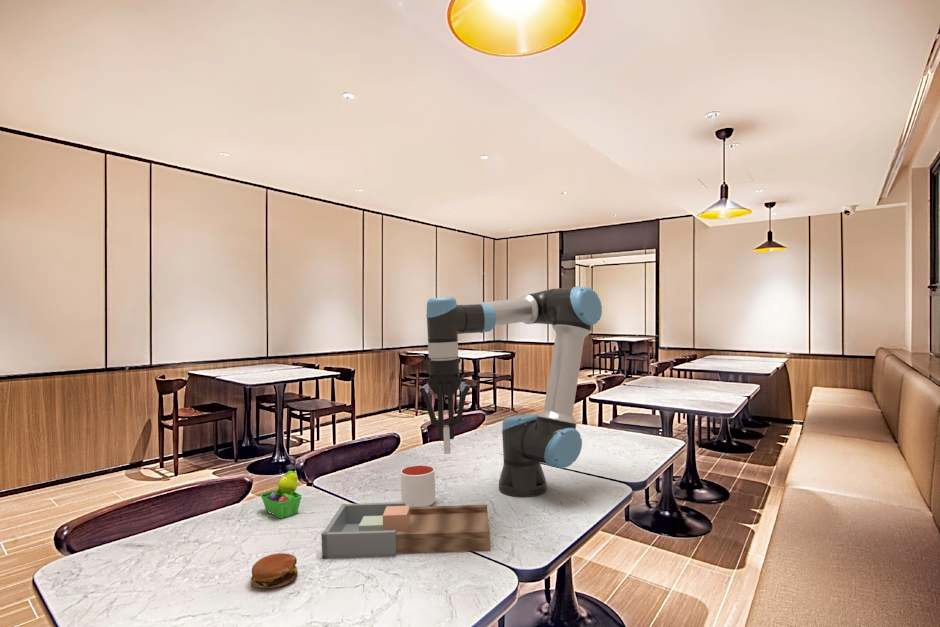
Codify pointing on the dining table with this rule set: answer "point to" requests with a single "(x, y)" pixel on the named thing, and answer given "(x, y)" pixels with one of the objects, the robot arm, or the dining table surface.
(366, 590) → the dining table surface
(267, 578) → the burger
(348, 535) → the box
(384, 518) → the tile
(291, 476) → the fruit basket
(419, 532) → the wooden tray
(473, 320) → the robot arm
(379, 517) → the tile
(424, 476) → the cup
